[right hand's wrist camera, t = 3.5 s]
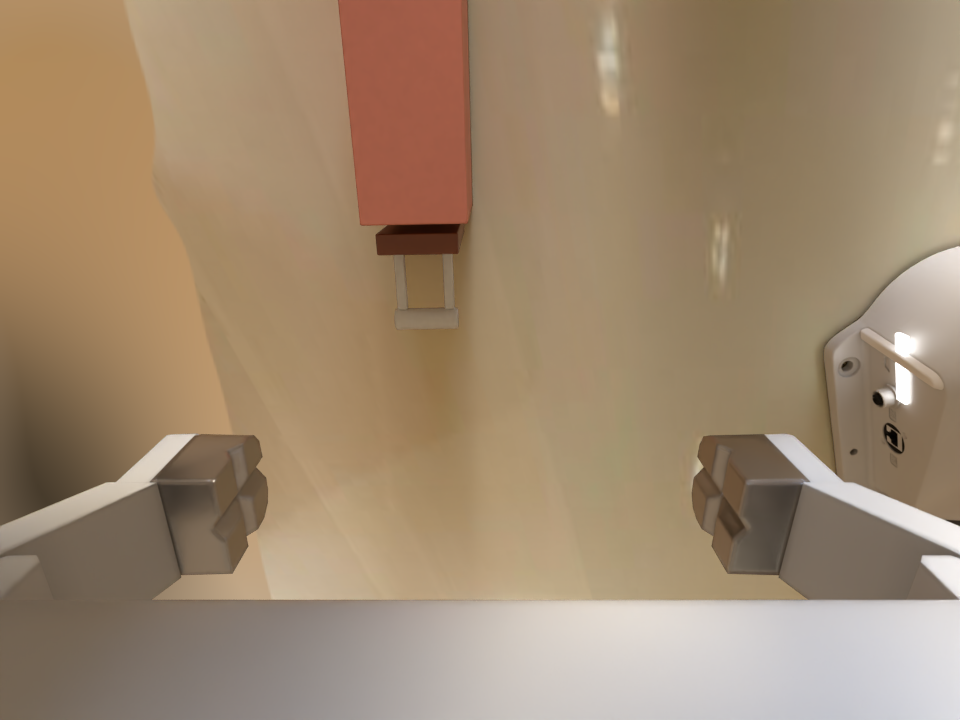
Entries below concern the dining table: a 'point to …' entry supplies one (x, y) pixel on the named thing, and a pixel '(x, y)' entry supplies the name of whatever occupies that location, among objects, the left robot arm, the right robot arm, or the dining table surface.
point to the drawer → (418, 243)
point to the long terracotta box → (409, 109)
